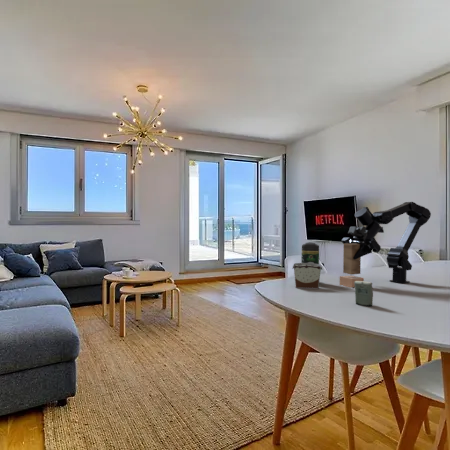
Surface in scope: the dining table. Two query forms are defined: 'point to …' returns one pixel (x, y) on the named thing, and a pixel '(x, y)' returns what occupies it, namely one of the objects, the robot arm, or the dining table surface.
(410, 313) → the dining table surface
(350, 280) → the terracotta block
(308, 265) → the food container
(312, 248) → the coffee jar
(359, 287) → the grey-green rounded block
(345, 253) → the walnut block
